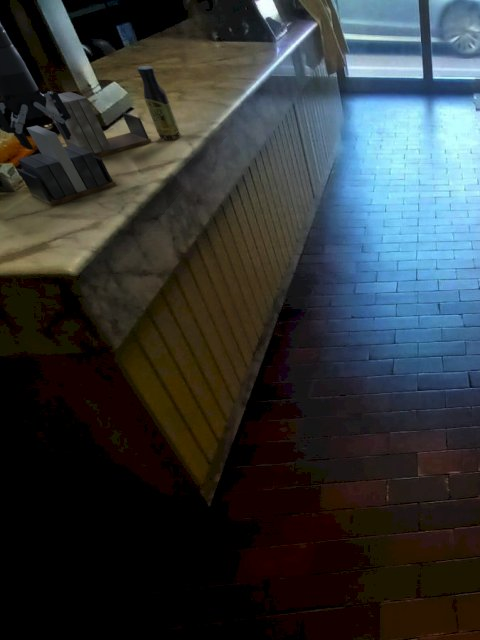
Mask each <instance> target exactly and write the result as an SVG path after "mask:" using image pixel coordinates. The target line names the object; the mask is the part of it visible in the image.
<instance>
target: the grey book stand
mask: <svg viewBox="0 0 480 640" xmlns="http://www.w3.org/2000/svg"><path fill="white" fill-rule="evenodd" d="M57 94H58V95H59V97H60V99H61V100H62V102H63V104H64V106H65V107H66V109H67V111H68V112H69V114H70V116H71V118H70V119H67V120H66V121H65V124H66V126H67V128H68V130H69V132H70V133H71V136H70V139H69V140H66V139H64V138H63V136H62V134H61V133H60V131H59V129H58V127H57V125H56V124H55V123H56V121H55V120H53V119H52V121H53V123H54V124H55V126H56V128H57V130H58V132H59V134H60V136H61V138H62V140H63V141H64V143H65V144H66V146H70V145H75V146H78V147H80V148H82V149H85V150H87V151H90V152H92V154H93V155H94V156H96V157H98V158H101V157H105V156H108V155H111V154H115V153H118V152H121V151H125V150H129V149H132V148H136V147H139V146H142V145H146V144H150V143H152V140H151V138H150V137H149V135H148V133H147V131H146V129H145V126H144V124H143V121H142V119H141V118H140V117H138V116H135V115H132V114H130V113H126V112H124V111H123V112H121V115H122V117H123V119H124V121H125V123H126V126H127V128H128V130H129V132H127V133H123V134H119V135H116V136H112V137H108V138H107V136H106V134H105V132H104V130H103V128H102V126H101V124H100V122H99V119H98V117H97V115H96V113H95V111H94V109H93V108H92V105H91V104H90V101H89V99H88V97H86V96H83V95H80V94H78V93H74V92H72V91H67V92H62V93H61V92H60V93H57ZM46 100H47V101H46V108H47V109H49V110H50V111H52V112H53V113H55V114H56V115H59V112H58V110H57V109H56V107H55V105H54V104H53V103H52V102H50V101H49V100H48V99H46Z"/></svg>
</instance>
